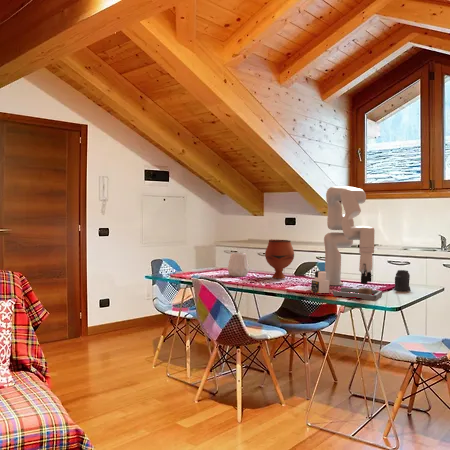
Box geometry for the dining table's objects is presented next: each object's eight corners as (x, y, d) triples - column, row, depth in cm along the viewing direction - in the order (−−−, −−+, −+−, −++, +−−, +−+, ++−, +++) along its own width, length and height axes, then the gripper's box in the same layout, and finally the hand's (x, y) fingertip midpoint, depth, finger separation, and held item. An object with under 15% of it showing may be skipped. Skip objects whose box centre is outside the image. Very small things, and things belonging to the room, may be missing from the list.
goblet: (291, 280, 317) (292, 241, 316) (261, 278, 322) (262, 240, 321) (295, 276, 335) (296, 239, 334) (267, 275, 340) (267, 238, 339)
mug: (398, 288, 293) (399, 269, 292) (413, 290, 286) (414, 270, 286) (388, 290, 285) (388, 270, 284) (403, 292, 278) (404, 272, 278)
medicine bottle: (311, 292, 275) (311, 270, 274) (321, 291, 278) (322, 270, 277) (318, 294, 268) (318, 272, 268) (329, 293, 271) (330, 271, 271)
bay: (333, 296, 263) (333, 291, 263) (341, 291, 278) (341, 287, 278) (375, 300, 253) (375, 295, 253) (382, 295, 267) (382, 291, 267)
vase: (249, 274, 342) (249, 252, 342) (248, 277, 328) (248, 254, 328) (229, 273, 344) (229, 251, 343) (226, 276, 330) (227, 253, 329)
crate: (358, 297, 263) (358, 288, 263) (360, 295, 267) (361, 287, 267) (369, 298, 260) (370, 289, 260) (372, 296, 264) (372, 288, 264)
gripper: (363, 249, 272) (362, 280, 272) (355, 250, 257) (355, 284, 257) (377, 249, 268) (376, 281, 269) (370, 251, 253) (369, 285, 253)
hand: (366, 282), depth 263 cm, fingers open, 9 cm apart
